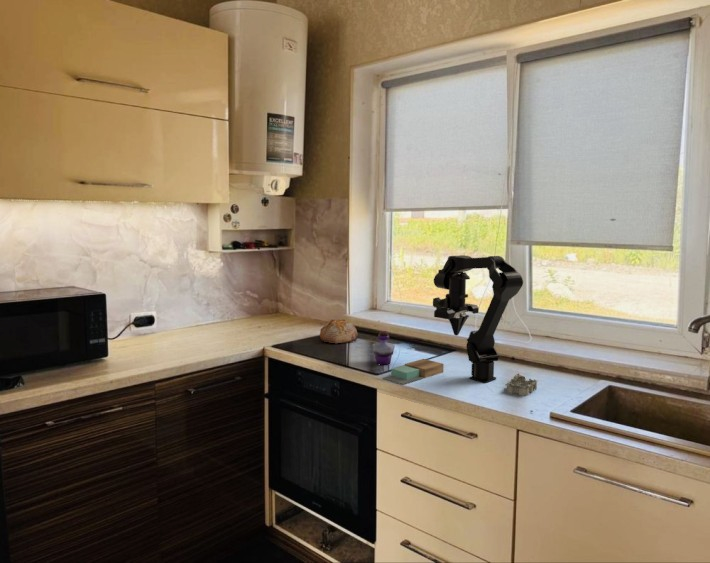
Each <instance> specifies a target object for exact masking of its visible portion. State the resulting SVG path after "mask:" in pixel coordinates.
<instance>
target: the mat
mask: <svg viewBox="0 0 710 563" xmlns="http://www.w3.org/2000/svg"><path fill="white" fill-rule="evenodd" d="M422 379H424V378H423V377H420V376H419V377H416V378H412V379H409V380H405V379H401V378H398V377H395V376H391V375H388V376H384V377H382V380H385V381H388V382H392V383H395V384H398V385H402V386H403V385H404V386H405V385H407V383H408V384H410V382H411V383H414V382H417V381H420V380H422ZM413 381H414V382H413Z"/></svg>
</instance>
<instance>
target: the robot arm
mask: <svg viewBox="0 0 710 563" xmlns="http://www.w3.org/2000/svg"><path fill="white" fill-rule="evenodd" d="M473 269H475V270H476V269H487V270H488V277H489V279H490V280H491V282H492V287H491V288H492V291H493V292H492V293H493V296H492V297H491V301H490V303H489V305H488V308H487V309H486V312H485V315H484V317H483V318H482V321H481V323H480V326H479V328H478V330H471V331H470V332H469V335H468V338H466V346H465V347H466V352H467V356H468V361H469V362H471V371H470V372H471V376H469V379H470V380H474V381H478V382H481V383H485V384H486V383H488V382H491V381H495V380H496V379H497V377H495V375H494V373H495V362H498V361H499V358H500V354H499V353H498V351H497V349H496V347H495V343H496V341H495V336H494V334H495V332H496V330H497V328H498V326H499V324H500V321H501V319H502V317H503V315H504V313H505V310H506V308H507V306H508V303H509V302H510V300H512V298H514V297H515V296H517V294H519V292H520V290H521V288H523V285H524V280H523V277H522V275H521V273H519V272H518V270H517V269H516V267H514V266H513V265H511V264H510V263H509V262H507V261H506V260H505V258H503V256H500V255H489V256H484V257H483V256H482V257H472V256H469V255H465V254H464V255H461V254H459V255H450V256H447V260H446V262H445V264H444V265H443V267H442V268H441V269H438V272H437V273H436V274H435V276H434V278H433V285H434V286H435V287H436V288H439V289H444V290H448V293H446V294H445V298H441V297H434V298H432V307H434V308H435V310H433V317H434V318H437V319H438V318H439V319H443V320H448V321H449V323H450V325H451V328H452V332H453V335H454V336H459V334H460V332H461V330H462V329H463V326H464V324H465V323H466V321H467V319H468V318H470V315H468V314H467V313H468V312H471V313H472V314H479V307H478V305H477V304H473V303H466V298H469V295H468V294H466V288H467V286H466V285H467V283H466V282H467V280H470V279H471V277H470V276H469V275H468V274H467V272H468V271H471V270H473ZM497 269H498V270H497ZM498 271H500V272H498Z"/></svg>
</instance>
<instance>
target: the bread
mask: <svg viewBox="0 0 710 563" xmlns="http://www.w3.org/2000/svg"><path fill="white" fill-rule="evenodd" d="M358 337H359V335H358V330H357V328H356V326H355V325H354V324H353V323H351V322H349V321H347V320H346V319H331V320H330V321H328V322H327V323H326V324H324V326H322V327H321V328H320V332H319V338H320V340H321V342H323V341H325V342H329V343H328V344H330V343H335V344H334V345H339V344H338V343H341V344H347V342H348V343H353V341H354V342H356V341H357V339H358ZM325 342H324V343H325Z"/></svg>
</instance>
